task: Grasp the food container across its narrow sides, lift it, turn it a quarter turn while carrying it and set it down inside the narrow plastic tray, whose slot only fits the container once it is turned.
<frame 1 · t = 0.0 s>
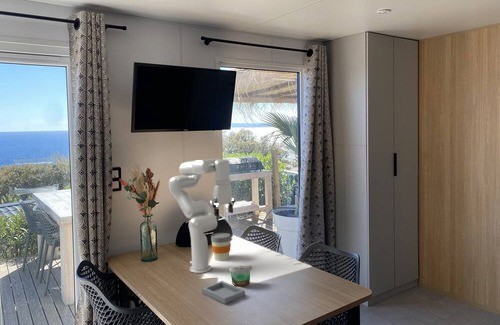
hand: (223, 214, 220), 37 cm above the table, tool pointing down, fingers open, 9 cm apart
food container: (242, 285, 215), on the table
reusable coffee cup: (221, 258, 259), on the table
tray: (223, 295, 204), on the table
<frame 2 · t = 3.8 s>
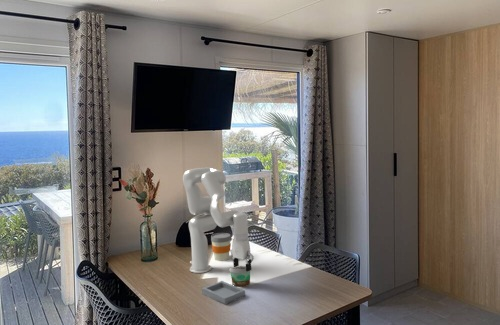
hand: (242, 268, 214), 9 cm above the table, tool pointing down, fingers open, 9 cm apart
food container: (242, 286, 215), on the table, touching gripper
everything else where it was.
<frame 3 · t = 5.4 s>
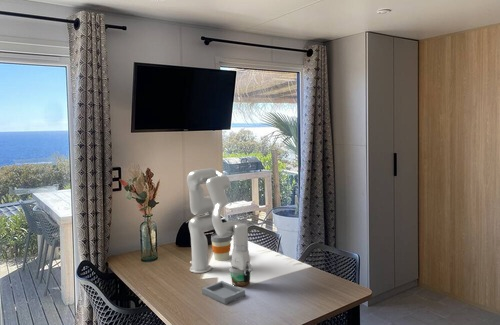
hand: (241, 279, 215), 3 cm above the table, tool pointing down, fingers closed on food container, 7 cm apart
food container: (242, 285, 215), on the table, touching gripper
everything else where it was.
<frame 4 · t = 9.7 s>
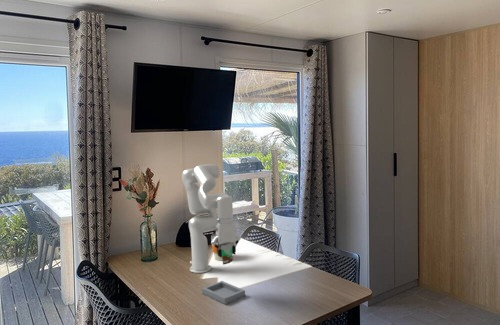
hand: (226, 254, 205), 20 cm above the table, tool pointing down, fingers closed on food container, 6 cm apart
food container: (228, 261, 205), point 16 cm above the table, touching gripper
everything else where it was.
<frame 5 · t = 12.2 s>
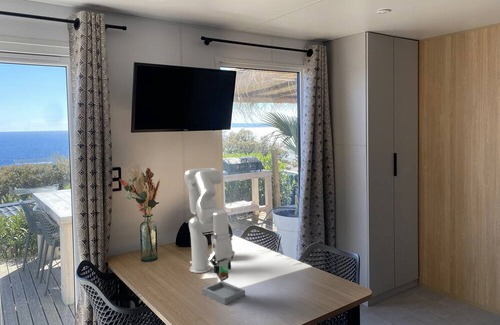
hand: (222, 271, 202), 12 cm above the table, tool pointing down, fingers closed on food container, 6 cm apart
food container: (224, 277, 203), point 9 cm above the table, touching gripper
everything else where it was.
when the fingers open (5 cm above the table, at t = 14.0 s): food container drops 1 cm, resting on tray.
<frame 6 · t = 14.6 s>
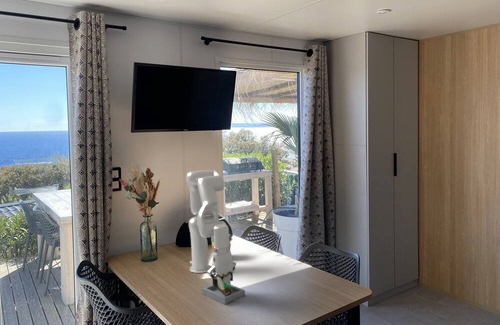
hand: (223, 283, 203), 6 cm above the table, tool pointing down, fingers open, 9 cm apart
food container: (227, 291, 205), point 1 cm above the table, touching tray
everything else where it was.
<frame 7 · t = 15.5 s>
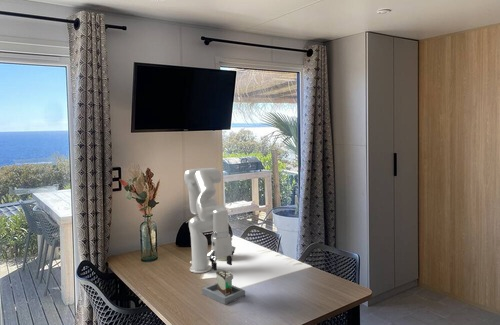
hand: (221, 267, 203), 14 cm above the table, tool pointing down, fingers open, 9 cm apart
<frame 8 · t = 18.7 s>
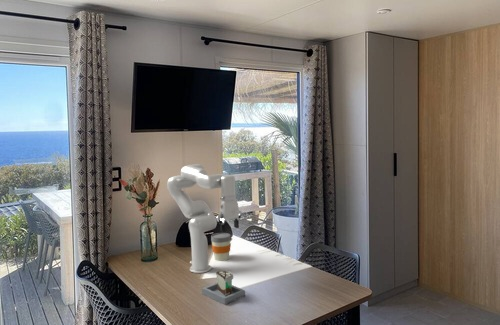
hand: (229, 229, 220), 28 cm above the table, tool pointing down, fingers open, 9 cm apart
nothing on the table moved.
at the end: food container inside the target area on the tray (2.3 cm from its centre), point 0.6 cm above the tray's base; food container tilted 0°; the gripper is holding nothing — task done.
